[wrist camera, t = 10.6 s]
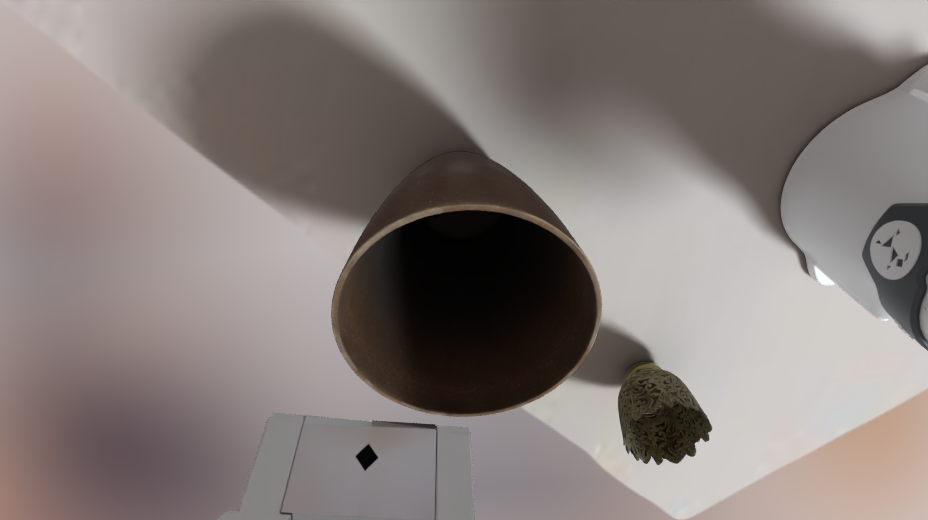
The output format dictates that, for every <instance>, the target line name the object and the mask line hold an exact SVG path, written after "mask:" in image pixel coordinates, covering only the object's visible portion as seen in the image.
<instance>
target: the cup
mask: <svg viewBox="0 0 928 520" xmlns="http://www.w3.org/2000/svg"><path fill="white" fill-rule="evenodd" d="M618 411H619V418H620V424H621V430H622V435H623V441H624V445H625V446H626V450H627V453H628V454H629V452H630V451H631V453H632V454H633V455H634V457H635V459H636V460H637V461H639V458H640V459H641V460H642V461H643V462H644V463H645V464H647V463H648V462H649V461H650V459H651V456H652V457H653V459H654V460H655V462H656V464H657V465H660V464H661V463H662V462H663V459H667V460H668V461H670V462H672V463H676V464H678V463H679V462H680V461H681V460H682V459H683V458H684V456H685V455H686V454H687V455H688V456H690V457H693V456H695V454H696V448H695V445H694V444H695V443H696V442H699V441H700V438H702V439H703V440H704V441H705V442H707V441H709V434H708V432H711V430H712V426H711V424H710V422H709V420H708V418H707V416H706V415H705V413H704V412H703V410H702V409H701V407H700V405H699V404H698V402H697V401H696V399H695V398H694V396H693V395H692V393H691V392H690V391H689V389H688V388H687V386H686V385H685V384H684V383H683V382H682V381H681V380H680V379H679V378H678V377H677V376H675V375H674V374H672V373H670V372H668V371H665V370H662V369H661V368H660V367H659V366H658V365H656V364H655V363H652V362H646V361H645V362H639V363H636V364H634V365H633V366H631V367H630V368H629V369H628V371H627V372H626V376H625V383H624V384H623V385H622V387H621V389H620V392H619V396H618ZM662 458H663V459H662Z"/></svg>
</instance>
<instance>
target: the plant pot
mask: <svg viewBox="0 0 928 520" xmlns="http://www.w3.org/2000/svg"><path fill="white" fill-rule="evenodd" d="M487 211H491V212H487ZM435 214H438V215H437V216H436V217H431V215H435ZM601 315H602V298H601V290H600V286H599V282H598V279H597V276H596V274H595V271H594V269H593V267H592V265H591V264H590V262H589V260H588V258H587V257H586V256H585V254H584V253H583V251H582V250H581V248H580V247H579V245H578V244H577V243H576V241H575V240H574V238H573V237H572V235H571V234H570V233H569V231H568V230H567V228H566V227H565V225H564V224H563V223H562V222H561V220H560V219H559V218H558V217H557V215H556V214H555V213H554V212H553V211H552V210H551V208H550V207H549V206H548V205H547V204H546V203H545V202H544V201H543V200H542V199H541V198H540V197H539V196H538V195H537V194H536V193H535V192H534V191H533V190H532V189H531V188H530V187H529V186H528V185H527V184H526V183H524V182H523V181H522V180H521V179H520V178H518V177H517V176H516V175H515V174H513V173H512V172H511V171H509V170H508V169H506V168H505V167H503V166H502V165H500V164H498V163H496V162H495V161H493V160H491V159H488V158H486V157H484V156H481V155H478V154H475V153H471V152H464V151H456V152H449V153H445V154H442V155H439V156H437V157H435V158H433V159H431V160H429V161H427V162H426V163H424V164H423V165H421V166H420V167H418V168H417V169H416V170H414V171H413V172H412V173H411V174H410V175H408V176H407V177H406V178H405V179H404V180H403V181H402V182H401V183H400V184H399V185H398V186H397V187H396V188H395V189H394V190H393V192H392V193H391V194H390V195H389V196H388V197H387V199H386V200H385V201H384V202H383V204H382V205H381V206H380V208H379V209H378V210H377V212H376V213H375V214H374V216H373V217H372V219H371V220H370V222H369V223H368V225H367V226H366V228H365V230H364V231H363V233H362V235H361V236H360V238H359V240H358V242H357V244H356V245H355V247H354V249H353V251H352V253H351V255H350V257H349V259H348V261H347V263H346V265H345V266H344V268H343V270H342V272H341V275H340V277H339V279H338V281H337V284H336V287H335V291H334V295H333V300H332V312H331V317H332V328H333V333H334V336H335V340H336V342H337V345H338V348H339V350H340V352H341V354H342V356H343V357H344V359H345V360H346V362H347V363H348V365H349V366H350V367H351V369H352V370H353V371H354V372H355V373H356V374H357V376H358V377H359V378H360V379H362V380H363V381H364V382H365V383H366V384H367V385H368V386H370V387H371V388H372V389H374V390H375V391H376V392H378V393H379V394H381V395H382V396H384V397H386V398H388V399H390V400H392V401H394V402H396V403H398V404H401V405H403V406H406V407H409V408H412V409H415V410H418V411H421V412H425V413H431V414H436V415H443V416H456V417H467V416H468V417H469V416H481V415H489V414H495V413H499V412H504V411H508V410H511V409H514V408H518V407H520V406H523V405H525V404H528V403H530V402H532V401H535V400H537V399H539V398H541V397H542V396H544V395H546V394H547V393H549V392H551V391H552V390H554V389H555V388H557V387H558V386H559V385H560V384H562V383H563V382H564V381H565V380H566V379H567V378H569V377H570V376H571V374H572V373H573V372H574V371H575V370H576V369H577V368H578V367H579V366H580V364H581V363H582V362H583V360H584V359H585V358H586V356H587V354H588V353H589V351H590V349H591V348H592V346H593V344H594V341H595V339H596V336H597V333H598V330H599V326H600V321H601Z"/></svg>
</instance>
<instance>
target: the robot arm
mask: <svg viewBox="0 0 928 520" xmlns="http://www.w3.org/2000/svg"><path fill="white" fill-rule="evenodd" d="M781 218H782V222H783V226H784V228H785V230H786V232H787V234H788V236H789V237H790V239H791V240H792V241H793V242H794V243H795V244H796V245H797V246H798V247H799V248H800V249H801V250H802V252H803V253H804V255H805V256H806V263H807V268H808V272H809V274H810V276H811V277H812V278H813V279H814V280H815V281H816V282H818V283H819V284H821V285H838V286H839V287H840V288H841V289H842V290H843V291H845V292H846V293H847V294H848V295H849V296H850V297H852V298H853V299H854V300H855V301H856V302H858V303H859V304H860V305H861V306H862V307H863V308H865V309H866V310H867V311H868V312H869V313H871V314H872V315H873V316H875V317H876V318H878V319H880V320H883V321H886V320H894V321H895V323H896V324H897V325H898V327H899V328H900V329H901V330H902V331H904V332H905V333H906V334H907V335H908V336H909V337H911V338H912V339H913V340H914V341H915V340H916V341H917V342H918V343H919V344H920V345H921V346H923V347H924V348H925V349H926V350H928V65H926V66H924V67H923V68H921V69H920V70H919V71H917V72H916V73H914V74H913V75H912V76H911V77H909V78H908V79H907V80H906V81H904V82H903V83H902V84H901V85H900V86H898V87H897V88H896V89H894V90H892V91H890V92H888V93H886V94H884V95H882V96H880V97H877V98H875V99H872V100H870V101H868V102H865V103H863V104H861V105H859V106H857V107H855V108H853V109H851V110H850V111H848V112H846V113H845V114H843V115H842V116H840V117H839V118H837V119H836V120H834V121H833V122H832V123H830V124H829V125H828V126H827V127H825V128H824V129H823V130H822V131H821V132H820V133H819V134H818V135H817V136H816V137H815V138H814V139H813V140H812V141H811V142H810V143H809V144H808V145H807V147H806V148H805V149H804V150H803V152H802V153H801V154H800V156H799V157H798V159H797V160H796V162H795V163H794V165H793V167H792V169H791V171H790V173H789V175H788V177H787V179H786V182H785V185H784V188H783V192H782V197H781ZM474 510H475V509H474V490H473V467H472V446H471V432H470V430H469V428H467V427H454V426H441V425H437V426H435V425H434V424H417V423H401V422H385V421H372V422H369V421H358V420H349V419H339V418H329V417H319V416H308V415H307V416H306V415H294V414H284V413H272V414H271V416H270V417H269V419H268V421H267V422H266V425H265V428H264V432H263V435H262V438H261V441H260V444H259V447H258V450H257V453H256V456H255V459H254V462H253V465H252V468H251V471H250V474H249V477H248V480H247V483H246V486H245V489H244V492H243V495H242V499H241V502H240V505H239V508H238V511H226V512H225V513H224V514H223V515H222V516H220V517H219V518H218V519H217V520H475V511H474Z"/></svg>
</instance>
